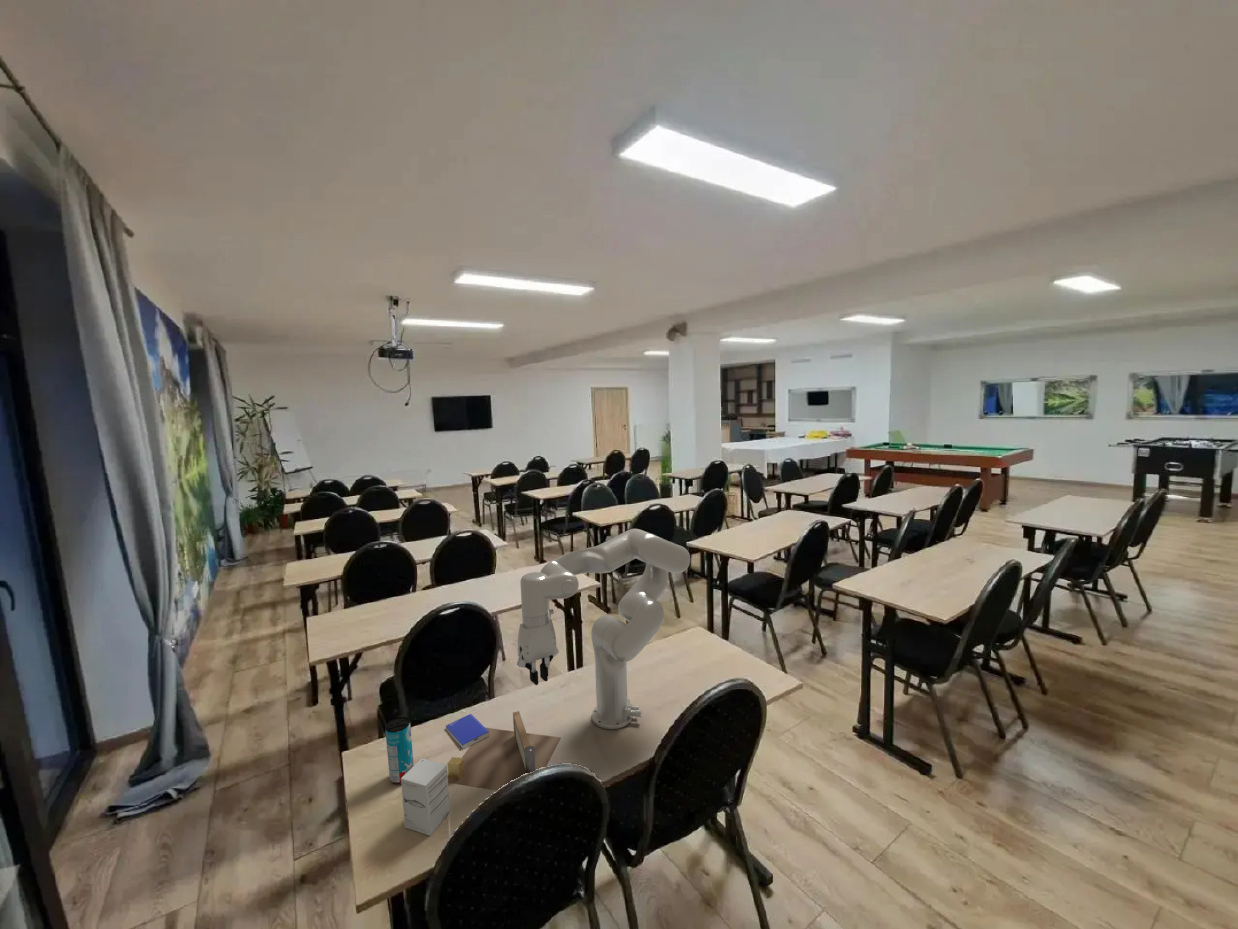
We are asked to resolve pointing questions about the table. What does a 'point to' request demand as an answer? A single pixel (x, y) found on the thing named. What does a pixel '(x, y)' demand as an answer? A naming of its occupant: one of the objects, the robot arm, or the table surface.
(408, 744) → the beverage can
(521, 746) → the brown and grey board
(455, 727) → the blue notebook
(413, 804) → the supplement box
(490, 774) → the board
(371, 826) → the table surface
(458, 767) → the gate posts
